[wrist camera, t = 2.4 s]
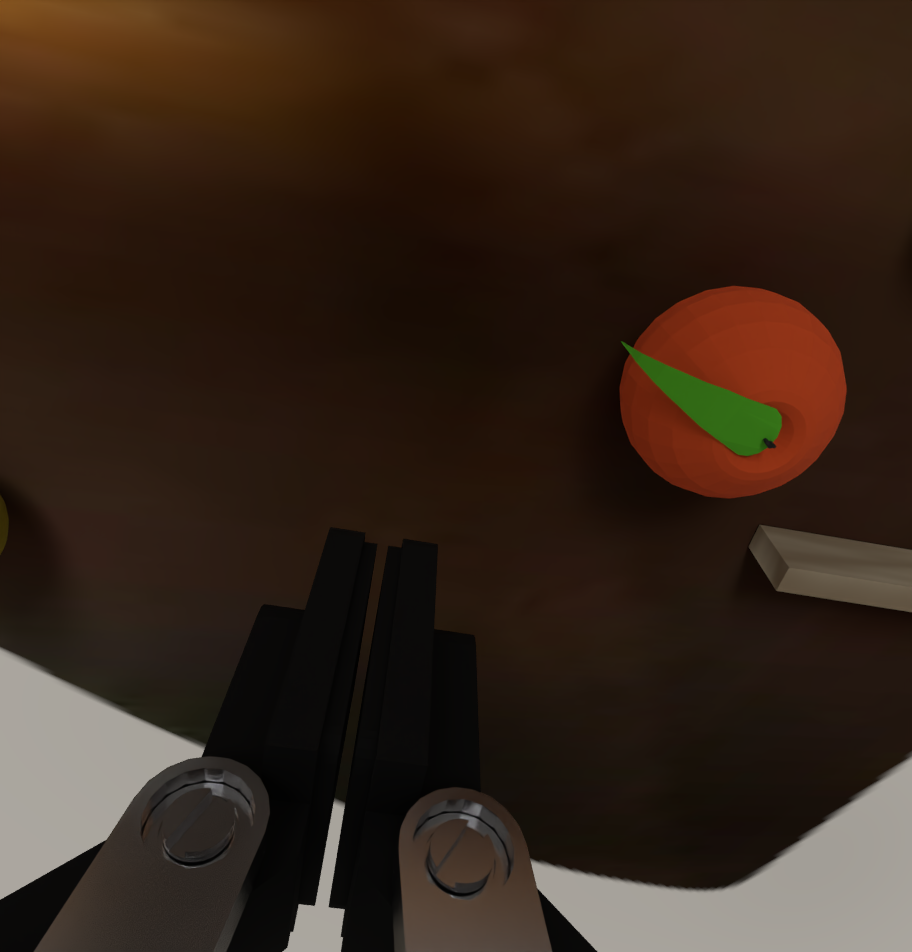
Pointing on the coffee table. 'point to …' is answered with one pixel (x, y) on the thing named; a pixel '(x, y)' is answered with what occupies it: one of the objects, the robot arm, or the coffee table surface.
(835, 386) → the clementine
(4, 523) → the lemon
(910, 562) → the corral
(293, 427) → the coffee table surface
